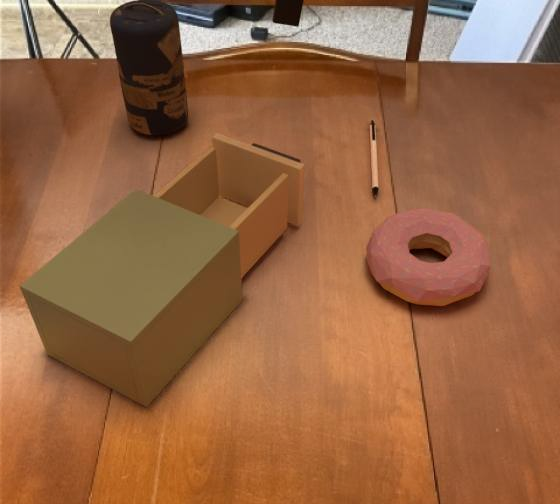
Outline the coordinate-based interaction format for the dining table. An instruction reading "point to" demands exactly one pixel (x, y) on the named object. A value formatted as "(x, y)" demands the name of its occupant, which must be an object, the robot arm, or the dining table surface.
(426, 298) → the donut
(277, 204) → the drawer
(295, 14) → the robot arm
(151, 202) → the cabinet
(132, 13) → the canister
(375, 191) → the pen
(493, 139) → the dining table surface
